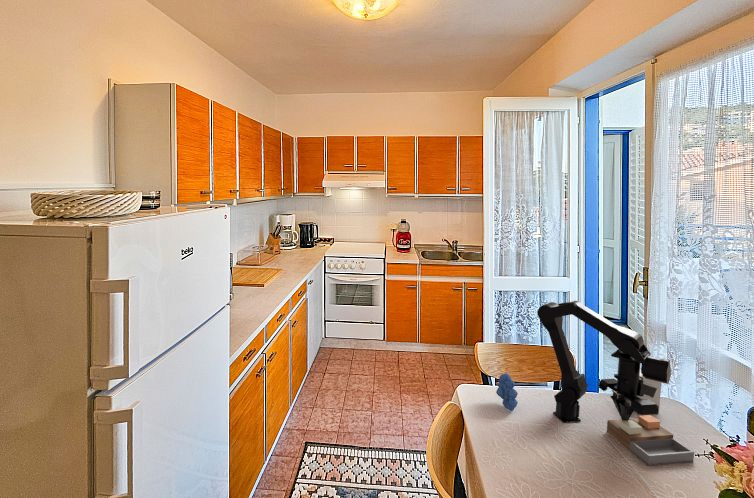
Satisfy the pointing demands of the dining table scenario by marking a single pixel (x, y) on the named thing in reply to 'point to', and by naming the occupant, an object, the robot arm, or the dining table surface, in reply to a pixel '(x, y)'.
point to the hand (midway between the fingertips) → (624, 422)
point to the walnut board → (625, 438)
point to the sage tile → (630, 427)
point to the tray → (661, 451)
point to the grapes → (507, 391)
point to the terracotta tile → (649, 421)
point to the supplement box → (658, 392)
